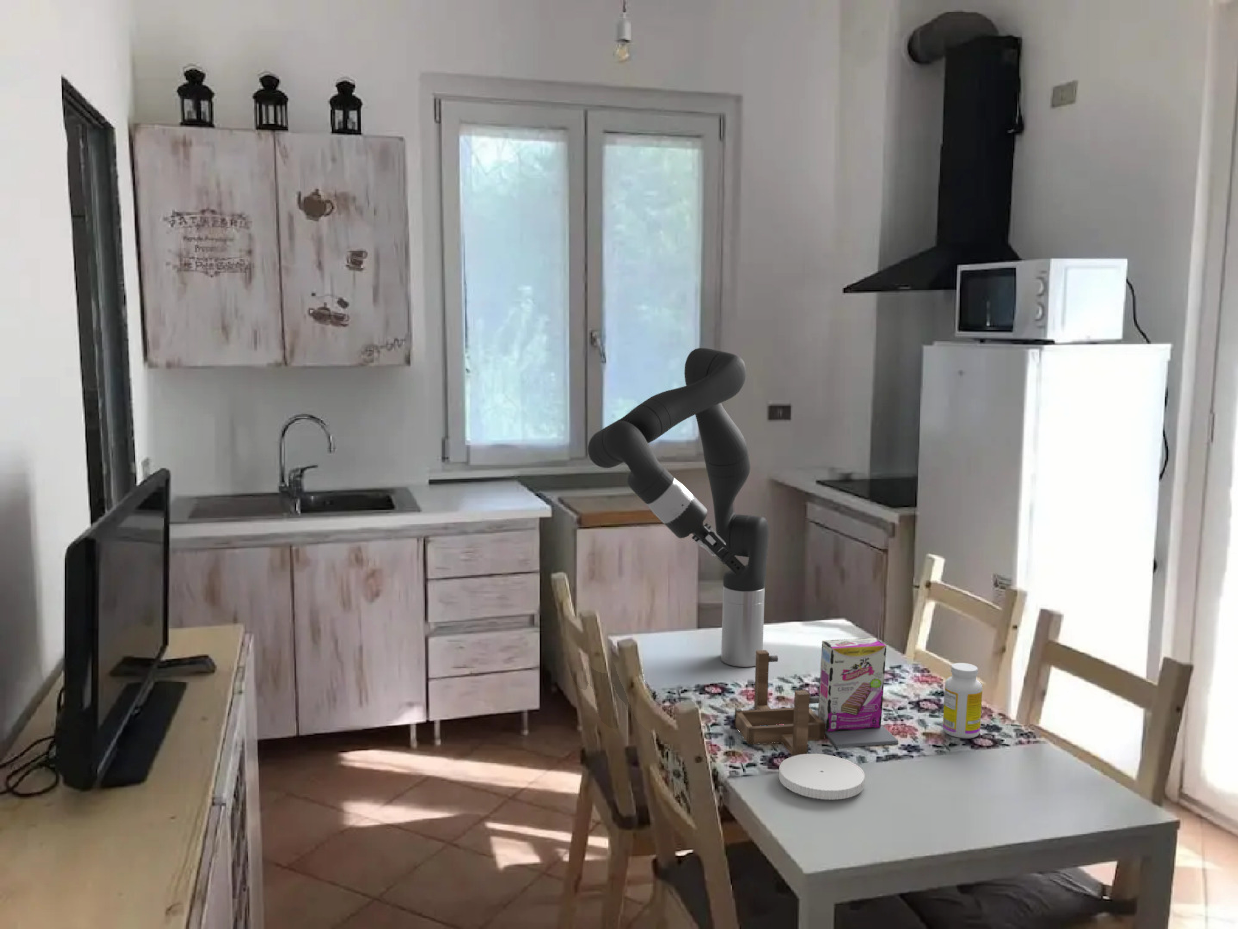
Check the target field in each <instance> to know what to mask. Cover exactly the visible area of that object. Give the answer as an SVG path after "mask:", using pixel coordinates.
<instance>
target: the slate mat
mask: <svg viewBox="0 0 1238 929" xmlns="http://www.w3.org/2000/svg"><path fill="white" fill-rule="evenodd" d="M812 711H813V712H814V713H815V714H816V715H817V716H818V709H817V710H815V709H814V710H812ZM825 739H828V741H829V742H830V743H831V744H832V745H833V747H835V748H836V749H837V748H853V747H863V746H864V747H865V746H866V747H867V746H869V747H870V746H881V745H883V746H885V745H895V744H899V740H898V739H897V738H896V736H894V735H893V734H892V733H891V732H890V731H889V730H888V729H887V728H885V726H883V725H882V724H881V728H870V729H857V730H844V731H830V732H827V731H826V730H825Z"/></svg>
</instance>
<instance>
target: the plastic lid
mask: <svg viewBox="0 0 1238 929" xmlns="http://www.w3.org/2000/svg"><path fill="white" fill-rule="evenodd" d="M778 779H779V781H780V783H781V785H783V787H785V788H787V789H789V791H791V792H793V793H795V794H798V795H801V796H804V797H808V798H812V799H818V800H819V799H820V800H826V801H827V800H829V801H830V800H833V801H834V800H842V799H849V798H852V797H855V796H857V795H859V794H860V793H861V792H862V791H864V789H865V782H866V781H865V780H866V774H865V772H864V770H863V769H862V768H861V767H860V766H859V765H858V764H856V763H854V762H853V761H850V760H848V759H846V758H843V757H842V758H841V756H836V755H835V756H834V755H832V754H831V755H830V754H823V753H807V754H803V755H801V754H800V755H797V756H792V755H791V756H789V757H788V758H785V759H784V760H783V761H781V763H780V764H779V768H778Z"/></svg>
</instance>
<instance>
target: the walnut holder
mask: <svg viewBox="0 0 1238 929" xmlns="http://www.w3.org/2000/svg"><path fill="white" fill-rule="evenodd" d="M778 661H779V657H778V655H770V653H769V652H768V650H766V649H763V650H756V666H755V671H754V673H755V674H754V677H755V678H754V703H753V706H754V707H753V709H747V710H734V727H735V726H736V727H735V728H737V729H738V730H739V731H740V733H741V734H742V735H741V734H740V733H739V734H740V735H741V737H742V736H743V737H744V738H743V737H742V738H743V740H746V741H745V742H746V743H748V744H751V745H759V744H758V743H761V744H760V745H763V744H762V743H766V744H777V742H782V743H781V744H782V745H783V746H784V747H785V748H786V751H788V752H789V754H790V755H791V756H797V755H800V754H801V755H803V754H808V746H809V745H808V744H809V742H810V741H812V742H813V741H825V739H826V736H825V723H824V722H823V721H822V720H821V719H820V718H819V717H818V716H817V715H816V714H815V713H814V712H813V711H814V710H813V709H812V708H811V707H810V705H812V704H819V695H815V696H811V695H810V693H809V691H807V690H806V689H804V690H803V689H802V690H794V700H793V701H794V702H793V707H782V708H781V707H779V708H771V707H770V706H769V705H768V698H769V697H768V692H769V667H770V666H769V665H770V663H776V662H777V663H778ZM754 708H755V709H756V710H755V709H754ZM776 724H777V725H776ZM779 724H784V725H779ZM760 725H761V726H760ZM763 725H768V726H763ZM737 729H736V730H737ZM738 730H737V731H738ZM739 731H738V732H739ZM772 742H773V743H772ZM774 742H775V743H774ZM748 744H747V745H748Z"/></svg>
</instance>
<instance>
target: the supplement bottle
mask: <svg viewBox="0 0 1238 929" xmlns="http://www.w3.org/2000/svg"><path fill="white" fill-rule="evenodd" d="M950 672H951V676H949V677H948V678H947V679H946V680H945V682H944V697H943V715H942V716H943V717H942V729H943V731H944V732H945V734H947V735H949V736H951V737H954V738H960V739H973V738H977V737H978V736H979V735H980V732H981V721H982V720H981V718H982V701H983V700H982V699H983V685H982V683H981V682H980V681H979V679H977V677H978V675H979V674H978V673H979V668H978V666H976V665H974V664H971V663H967V662H966V663H965V662H957V663H956V662H955V663H952V664H951V669H950Z"/></svg>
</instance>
